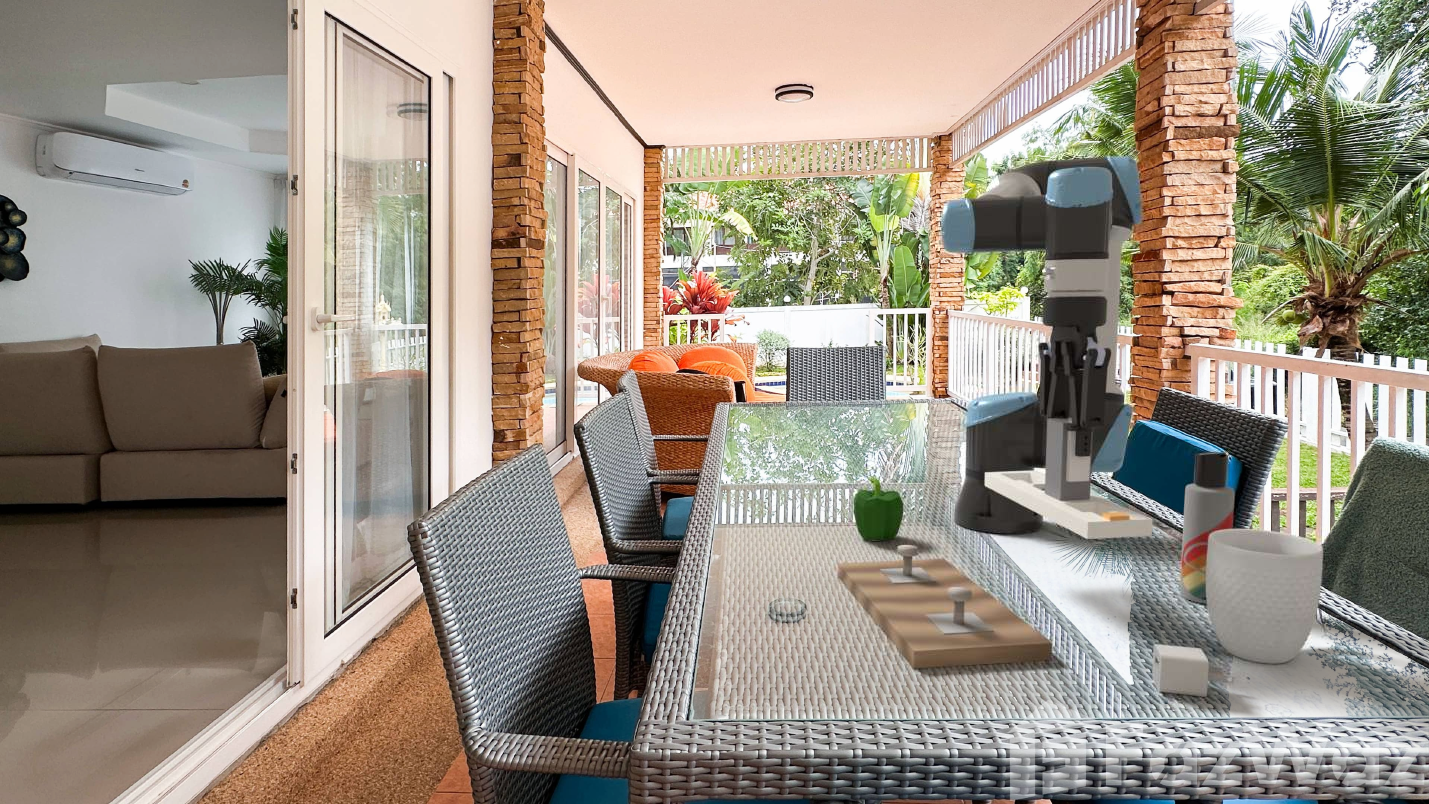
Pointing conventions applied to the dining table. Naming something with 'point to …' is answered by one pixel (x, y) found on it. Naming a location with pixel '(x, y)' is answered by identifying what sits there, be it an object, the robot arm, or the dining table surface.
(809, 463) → the dining table surface
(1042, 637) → the pin board
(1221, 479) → the lotion bottle
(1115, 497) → the dining table surface
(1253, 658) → the mug
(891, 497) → the bell pepper
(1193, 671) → the usb wall charger
